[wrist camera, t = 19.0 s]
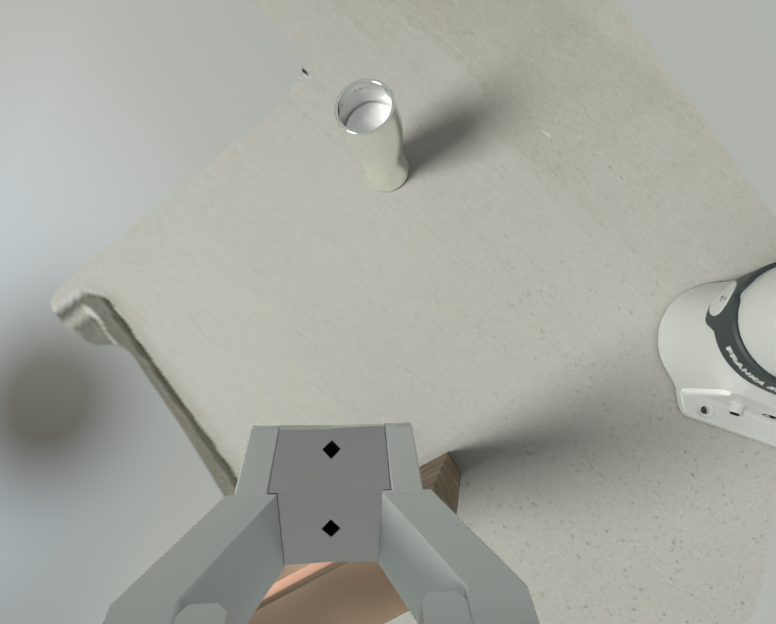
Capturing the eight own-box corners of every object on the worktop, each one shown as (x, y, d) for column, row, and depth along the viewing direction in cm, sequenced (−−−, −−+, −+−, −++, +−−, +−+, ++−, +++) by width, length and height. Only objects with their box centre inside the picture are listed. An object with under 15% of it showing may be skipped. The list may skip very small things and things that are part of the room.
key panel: (460, 475, 58) (448, 589, 22) (357, 530, 58) (181, 729, 23) (448, 451, 58) (415, 525, 23) (346, 507, 59) (158, 663, 23)
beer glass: (421, 158, 66) (408, 89, 52) (397, 203, 65) (377, 145, 51) (376, 140, 68) (351, 68, 53) (353, 184, 67) (321, 122, 52)
